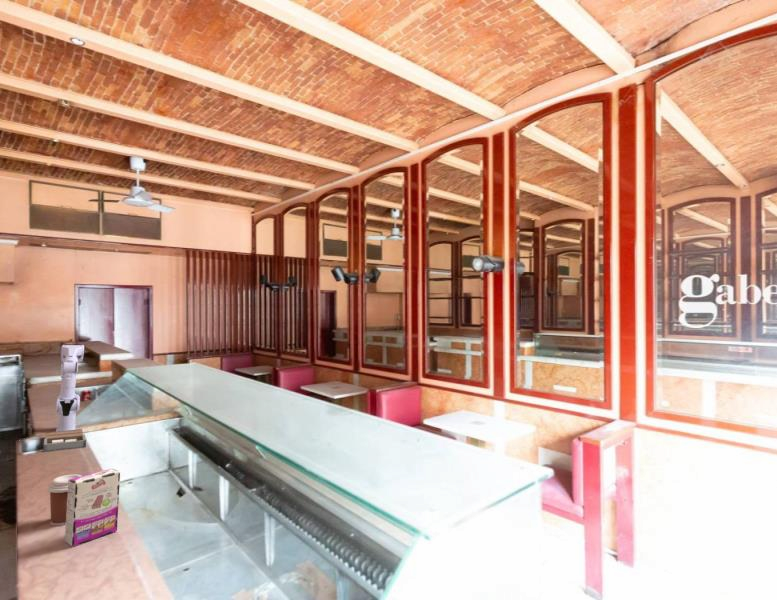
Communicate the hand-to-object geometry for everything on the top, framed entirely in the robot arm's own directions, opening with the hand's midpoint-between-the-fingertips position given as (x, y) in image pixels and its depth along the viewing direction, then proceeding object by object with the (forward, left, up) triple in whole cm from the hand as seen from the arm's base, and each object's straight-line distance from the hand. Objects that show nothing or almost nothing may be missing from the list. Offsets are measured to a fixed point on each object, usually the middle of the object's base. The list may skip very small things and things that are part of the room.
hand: (65, 415), depth 212 cm
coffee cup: (+104, -1, -11) cm, 105 cm away
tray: (+16, 0, -10) cm, 19 cm away
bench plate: (+3, 0, -10) cm, 11 cm away
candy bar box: (+119, +4, -11) cm, 120 cm away
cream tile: (+16, -3, -8) cm, 18 cm away
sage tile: (+17, +2, -8) cm, 19 cm away
